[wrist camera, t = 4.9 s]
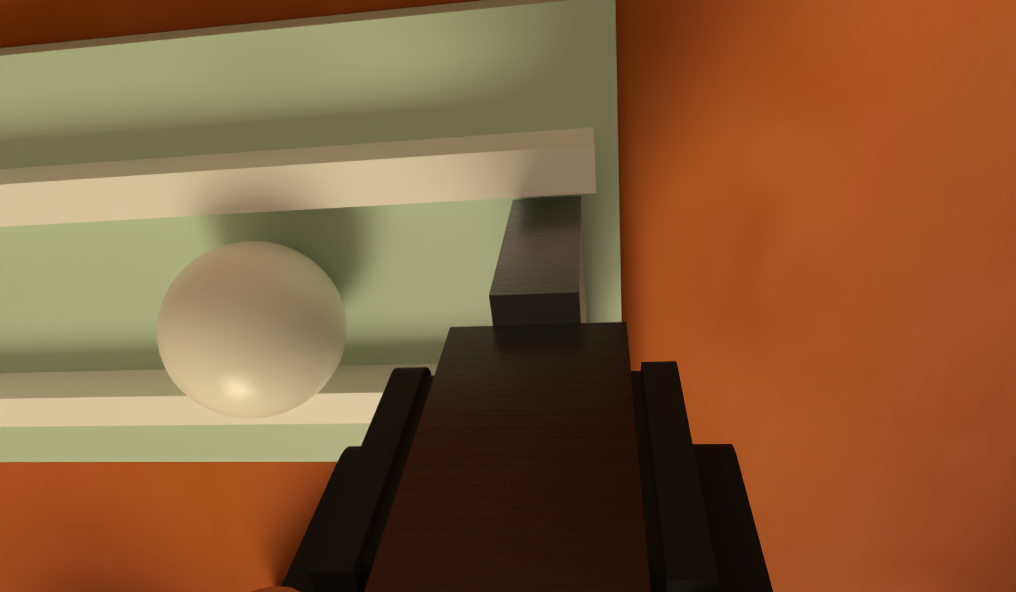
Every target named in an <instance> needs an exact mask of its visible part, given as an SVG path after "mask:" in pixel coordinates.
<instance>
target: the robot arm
mask: <svg viewBox="0 0 1016 592" xmlns="http://www.w3.org/2000/svg"><path fill="white" fill-rule="evenodd" d="M433 378H434V375H431V371H430V369H429V368H428V367H404V368H395V369H393V371H392V373H391V375H390V378H389V380H388V382H387V385H386V387H385V390H384V392H383V394H382V397H381V399H380V402H379V404H378V406H377V409H376V411H375V414H374V416H373V418H372V421H371V423H370V426H369V428H368V430H367V433H366V435H365V437H364V440H363V442H362V445H361V446H348V447H347V448H346V449H344V451H343V452H342V454H341V456H340V457H339V460H338V462H337V464H336V466H335V469H334V471H333V473H332V475H331V478H330V480H329V482H328V484H327V486H326V489H325V491H324V493H323V495H322V498H321V500H320V502H319V504H318V507H317V509H316V511H315V513H314V515H313V518H312V520H311V522H310V524H309V527H308V529H307V531H306V533H305V536H304V538H303V540H302V542H301V544H300V547H299V549H298V551H297V553H296V556H295V558H294V560H293V562H292V565H291V567H290V569H289V571H288V574H287V576H286V578H285V580H284V582H283V585H282V587H281V586H272V587H267V588H262V589H257V590H255V591H253V592H364V591H365V588H366V585H367V582H368V578H369V575H370V572H371V569H372V566H373V563H374V560H375V557H376V554H377V551H378V548H379V545H380V541H381V538H382V535H383V532H384V529H385V526H386V523H387V520H388V517H389V514H390V511H391V508H392V504H393V501H394V498H395V495H396V492H397V489H398V486H399V483H400V480H401V477H402V474H403V471H404V468H405V464H406V461H407V458H408V455H409V452H410V449H411V446H412V443H413V440H414V437H415V434H416V431H417V427H418V424H419V421H420V418H421V415H422V412H423V409H424V406H425V403H426V400H427V397H428V394H429V390H430V387H431V384H432V381H433ZM631 380H632V391H633V402H634V412H635V423H636V434H637V445H638V456H639V467H640V477H641V488H642V499H643V510H644V521H645V532H646V542H647V553H648V564H649V575H650V586H651V592H773V590H772V586H771V582H770V579H769V575H768V571H767V567H766V564H765V560H764V556H763V552H762V549H761V545H760V541H759V538H758V534H757V530H756V526H755V523H754V519H753V515H752V511H751V508H750V504H749V500H748V496H747V493H746V489H745V485H744V482H743V478H742V474H741V470H740V467H739V463H738V459H737V456H736V453H735V450H734V447H733V446H732V444H692V439H691V434H690V429H689V423H688V418H687V413H686V408H685V403H684V397H683V392H682V387H681V382H680V377H679V371H678V366H677V363H676V361H668V362H642V363H641V371H631Z"/></svg>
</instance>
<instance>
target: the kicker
mask: <svg viewBox="0 0 1016 592" xmlns="http://www.w3.org/2000/svg"><path fill="white" fill-rule="evenodd" d="M489 300H490V308H491V315H492V323H493V326H467V327H450V329H449V332H448V335H447V338H446V341H445V344H444V347H443V350H442V353H441V357H440V360H439V363H438V366H437V369H436V372H435V375H434V378H433V381H432V384H431V387H430V390H429V394H428V397H427V400H426V403H425V406H424V409H423V412H422V415H421V418H420V421H419V424H418V427H417V431H416V434H415V437H414V440H413V443H412V446H411V449H410V452H409V455H408V458H407V461H406V464H405V468H404V471H403V474H402V477H401V480H400V483H399V486H398V489H397V492H396V495H395V498H394V501H393V504H392V508H391V511H390V514H389V517H388V520H387V523H386V526H385V529H384V532H383V535H382V538H381V541H380V545H379V548H378V551H377V554H376V557H375V560H374V563H373V566H372V569H371V572H370V575H369V578H368V582H367V585H366V588H365V591H364V592H651V586H650V575H649V564H648V553H647V542H646V532H645V521H644V510H643V499H642V488H641V477H640V467H639V456H638V445H637V434H636V423H635V412H634V402H633V391H632V380H631V369H630V358H629V348H628V337H627V326H626V322H601V323H588V322H587V302H586V282H585V262H584V242H583V221H582V201H581V196H569V197H551V198H534V199H516V200H513V202H512V206H511V210H510V214H509V217H508V221H507V225H506V229H505V233H504V237H503V241H502V245H501V249H500V253H499V257H498V261H497V265H496V269H495V273H494V277H493V281H492V285H491V289H490V293H489Z"/></svg>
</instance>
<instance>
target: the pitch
mask: <svg viewBox="0 0 1016 592" xmlns="http://www.w3.org/2000/svg"><path fill="white" fill-rule="evenodd" d="M569 196H581V201H582V221H583V242H584V262H585V282H586V302H587V322H588V323H601V322H622V316H621V264H620V213H619V161H618V109H617V58H616V6H615V0H481V1H471V2H461V3H451V4H441V5H431V6H421V7H411V8H401V9H390V10H380V11H370V12H360V13H350V14H340V15H330V16H320V17H310V18H300V19H289V20H279V21H269V22H259V23H249V24H239V25H229V26H219V27H209V28H199V29H188V30H178V31H168V32H158V33H148V34H138V35H128V36H118V37H108V38H97V39H87V40H77V41H67V42H57V43H47V44H37V45H27V46H17V47H7V48H0V462H332V461H338V460H339V457H340V456H341V454H342V452H343V451H344V449H346V448H347V447H348V446H361V445H362V442H363V440H364V437H365V435H366V433H367V430H368V428H369V426H370V423H371V421H372V418H373V416H374V414H375V411H376V409H377V406H378V404H379V402H380V399H381V397H382V394H383V392H384V390H385V387H386V385H387V382H388V380H389V378H390V375H391V373H392V371H393V369H395V368H404V367H428V368H429V369H430V371H431V375H435V372H436V369H437V366H438V363H439V360H440V357H441V353H442V350H443V347H444V344H445V341H446V338H447V335H448V332H449V329H450V327H467V326H493V323H492V315H491V308H490V300H489V293H490V289H491V285H492V281H493V277H494V273H495V269H496V265H497V261H498V257H499V253H500V249H501V245H502V241H503V237H504V233H505V229H506V225H507V221H508V217H509V214H510V210H511V206H512V202H513V200H516V199H534V198H551V197H569ZM243 241H264V242H272V243H276V244H280V245H283V246H286V247H289V248H292V249H294V250H296V251H298V252H300V253H302V254H304V255H305V256H307V257H308V258H310V259H311V260H312V261H314V262H315V263H316V264H317V265H318V266H319V267H321V268H322V269H323V270H324V272H325V273H326V274H327V275H328V276H329V278H330V279H331V280H332V282H333V283H334V285H335V286H336V288H337V290H338V292H339V294H340V297H341V300H342V303H343V306H344V309H345V314H346V327H347V334H346V342H345V347H344V351H343V354H342V357H341V360H340V362H339V364H338V366H337V368H336V370H335V372H334V373H333V375H332V376H331V378H330V379H329V381H328V382H327V383H326V385H325V386H324V387H323V388H322V389H321V390H320V391H319V392H318V393H317V394H316V395H314V396H313V397H312V398H310V399H309V400H307V401H306V402H305V403H303V404H302V405H300V406H298V407H296V408H294V409H292V410H290V411H287V412H285V413H282V414H279V415H275V416H270V417H265V418H255V419H247V418H235V417H229V416H225V415H221V414H218V413H216V412H213V411H211V410H209V409H206V408H204V407H203V406H201V405H199V404H197V403H196V402H194V401H193V400H192V399H190V398H189V397H188V396H187V395H185V394H184V393H183V392H182V391H181V390H180V389H179V388H178V386H177V385H176V384H175V383H174V382H173V380H172V379H171V377H170V376H169V374H168V372H167V370H166V368H165V366H164V364H163V362H162V359H161V356H160V353H159V348H158V342H157V322H158V314H159V310H160V307H161V304H162V301H163V298H164V296H165V294H166V292H167V290H168V288H169V287H170V285H171V283H172V282H173V281H174V279H175V278H176V277H177V276H178V274H179V273H180V272H181V271H182V270H183V269H184V268H185V267H186V266H187V265H189V264H190V263H191V262H192V261H194V260H195V259H196V258H198V257H200V256H201V255H203V254H204V253H206V252H208V251H211V250H213V249H215V248H218V247H220V246H223V245H227V244H231V243H235V242H243Z"/></svg>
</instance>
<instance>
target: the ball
mask: <svg viewBox="0 0 1016 592" xmlns="http://www.w3.org/2000/svg"><path fill="white" fill-rule="evenodd" d="M346 334H347V327H346V314H345V309H344V306H343V303H342V300H341V297H340V294H339V292H338V290H337V288H336V286H335V285H334V283H333V282H332V280H331V279H330V278H329V276H328V275H327V274H326V273H325V272H324V270H323V269H322V268H321V267H319V266H318V265H317V264H316V263H315V262H314V261H312V260H311V259H310V258H308V257H307V256H305V255H304V254H302V253H300V252H298V251H296V250H294V249H292V248H289V247H286V246H283V245H280V244H276V243H272V242H264V241H243V242H235V243H231V244H227V245H223V246H220V247H218V248H215V249H213V250H211V251H208V252H206V253H204V254H203V255H201V256H200V257H198V258H196V259H195V260H194V261H192V262H191V263H190V264H189V265H187V266H186V267H185V268H184V269H183V270H182V271H181V272H180V273H179V274H178V276H177V277H176V278H175V279H174V281H173V282H172V283H171V285H170V287H169V288H168V290H167V292H166V294H165V296H164V298H163V301H162V304H161V307H160V310H159V314H158V322H157V342H158V348H159V353H160V356H161V359H162V362H163V364H164V366H165V368H166V370H167V372H168V374H169V376H170V377H171V379H172V380H173V382H174V383H175V384H176V385H177V386H178V388H179V389H180V390H181V391H182V392H183V393H184V394H185V395H187V396H188V397H189V398H190V399H192V400H193V401H194V402H196V403H197V404H199V405H201V406H203V407H204V408H206V409H209V410H211V411H213V412H216V413H218V414H221V415H225V416H229V417H235V418H247V419H255V418H265V417H270V416H275V415H279V414H282V413H285V412H287V411H290V410H292V409H294V408H296V407H298V406H300V405H302V404H303V403H305V402H306V401H307V400H309V399H310V398H312V397H313V396H314V395H316V394H317V393H318V392H319V391H320V390H321V389H322V388H323V387H324V386H325V385H326V383H327V382H328V381H329V379H330V378H331V376H332V375H333V373H334V372H335V370H336V368H337V366H338V364H339V362H340V360H341V357H342V354H343V351H344V347H345V342H346Z"/></svg>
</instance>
